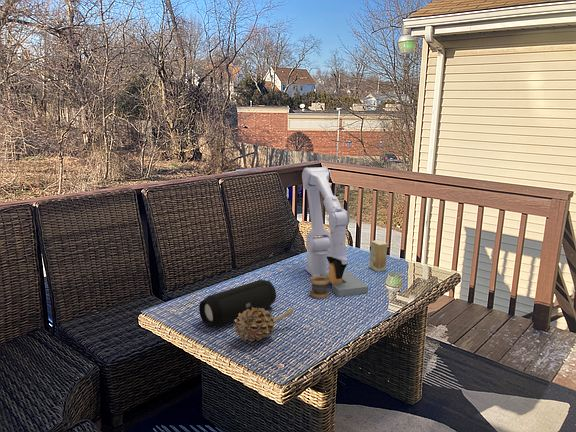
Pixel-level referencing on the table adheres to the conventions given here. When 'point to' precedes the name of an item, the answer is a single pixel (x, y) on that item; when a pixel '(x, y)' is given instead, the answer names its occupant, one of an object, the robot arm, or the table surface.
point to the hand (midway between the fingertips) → (336, 276)
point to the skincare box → (378, 255)
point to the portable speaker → (236, 302)
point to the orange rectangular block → (333, 275)
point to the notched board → (348, 285)
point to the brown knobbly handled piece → (257, 323)
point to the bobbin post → (319, 286)
